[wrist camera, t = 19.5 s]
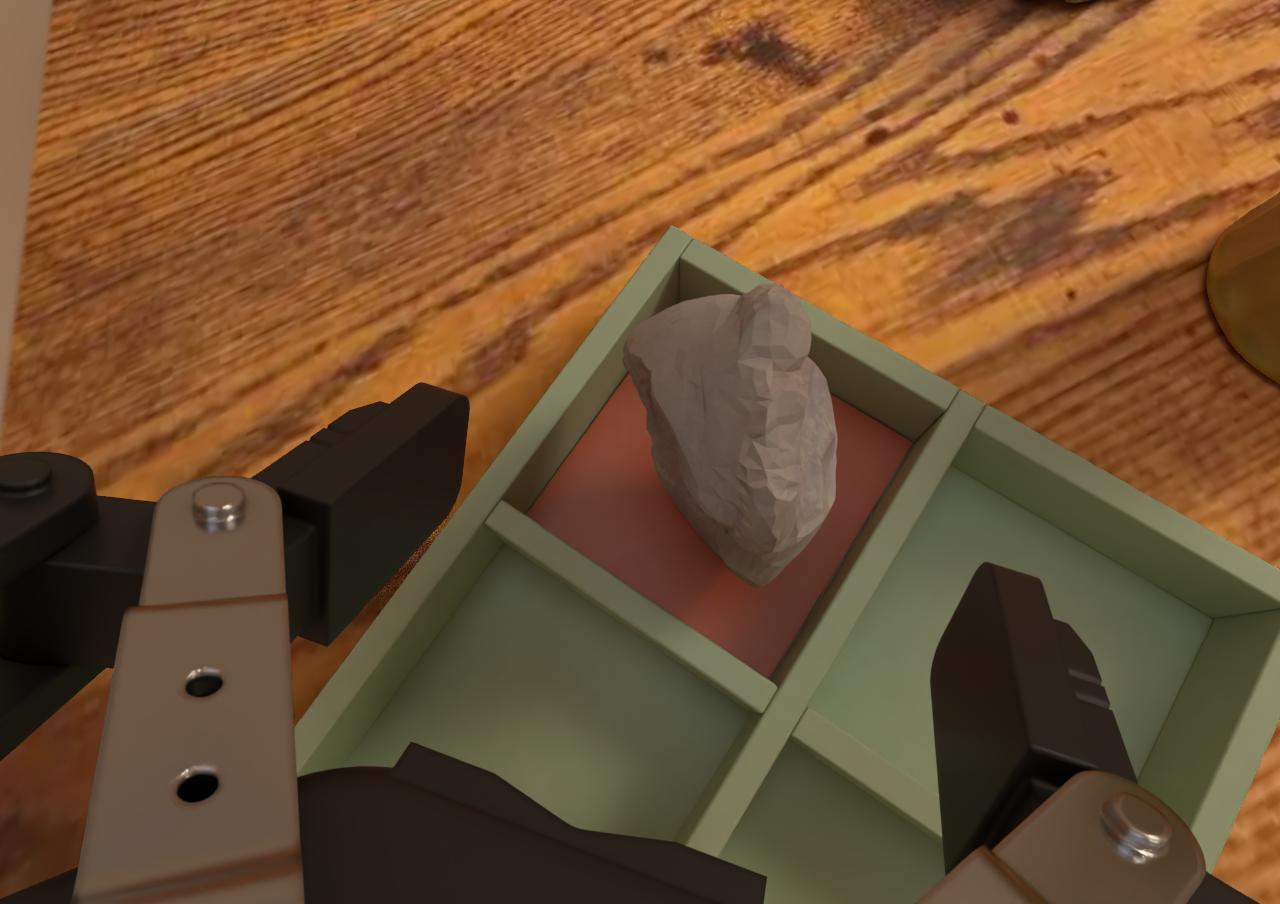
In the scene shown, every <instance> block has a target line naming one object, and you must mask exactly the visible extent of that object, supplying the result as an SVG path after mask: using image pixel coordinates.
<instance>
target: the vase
mask: <svg viewBox="0 0 1280 904" xmlns="http://www.w3.org/2000/svg"><path fill="white" fill-rule="evenodd" d="M1207 292H1208V297H1209V301H1210V305H1211V308H1212V310H1213V313H1214V315H1215V317H1216V319H1217V321H1218V323H1219V325H1220V327H1221V329H1222V331H1223V332H1224V334H1225V336H1226V338H1227V339H1228V341H1229V343H1230V344H1231V345H1232V346H1233V347H1234V349H1235V350H1236V351H1237V352H1238V353H1239V354H1240V355H1241V356H1242V357H1243V358H1244V359H1245V360H1246V361H1247V362H1248V363H1249V364H1251V365H1252V366H1253V367H1254V368H1256V369H1257V370H1258V371H1260V372H1261V373H1263V374H1264V375H1265V376H1267V377H1269V378H1270V379H1272V380H1274V381H1275V382H1277V383H1279V384H1280V192H1279V193H1278V194H1277V195H1275V196H1274V197H1272V198H1271V199H1269V200H1268V201H1266V202H1264V203H1263V204H1261V205H1259V206H1257V207H1256V208H1254V209H1252V210H1251V211H1250V212H1248V213H1247V214H1246V215H1244V216H1243V217H1241V218H1240V219H1239V220H1238V221H1236V222H1235V223H1234V224H1233V225H1232V226H1231V227H1230V228H1228V229H1227V230H1226V231H1225V233H1224V234H1223V235H1222V236H1221V237H1220V239H1219V241H1218V242H1217V244H1216V246H1215V248H1214V250H1213V252H1212V254H1211V257H1210V260H1209V264H1208V269H1207Z"/></svg>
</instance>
